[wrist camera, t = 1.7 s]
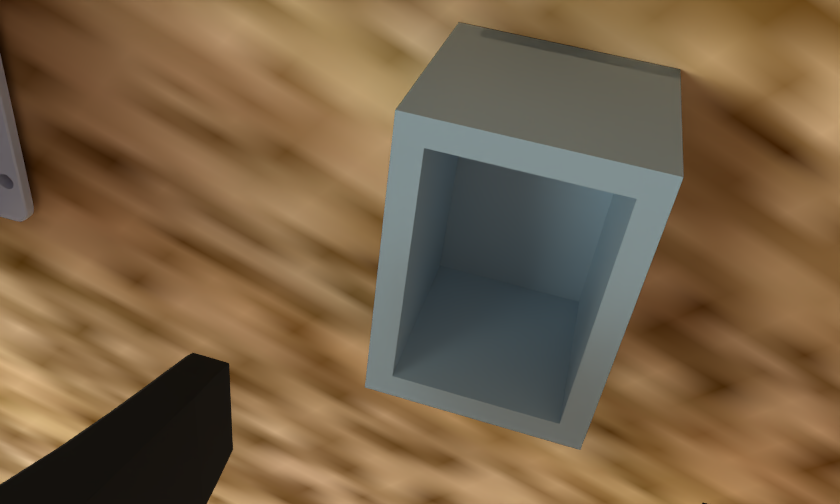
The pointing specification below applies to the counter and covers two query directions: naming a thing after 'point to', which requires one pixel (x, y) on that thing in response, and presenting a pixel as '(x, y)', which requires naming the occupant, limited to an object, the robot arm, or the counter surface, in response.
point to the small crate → (520, 227)
